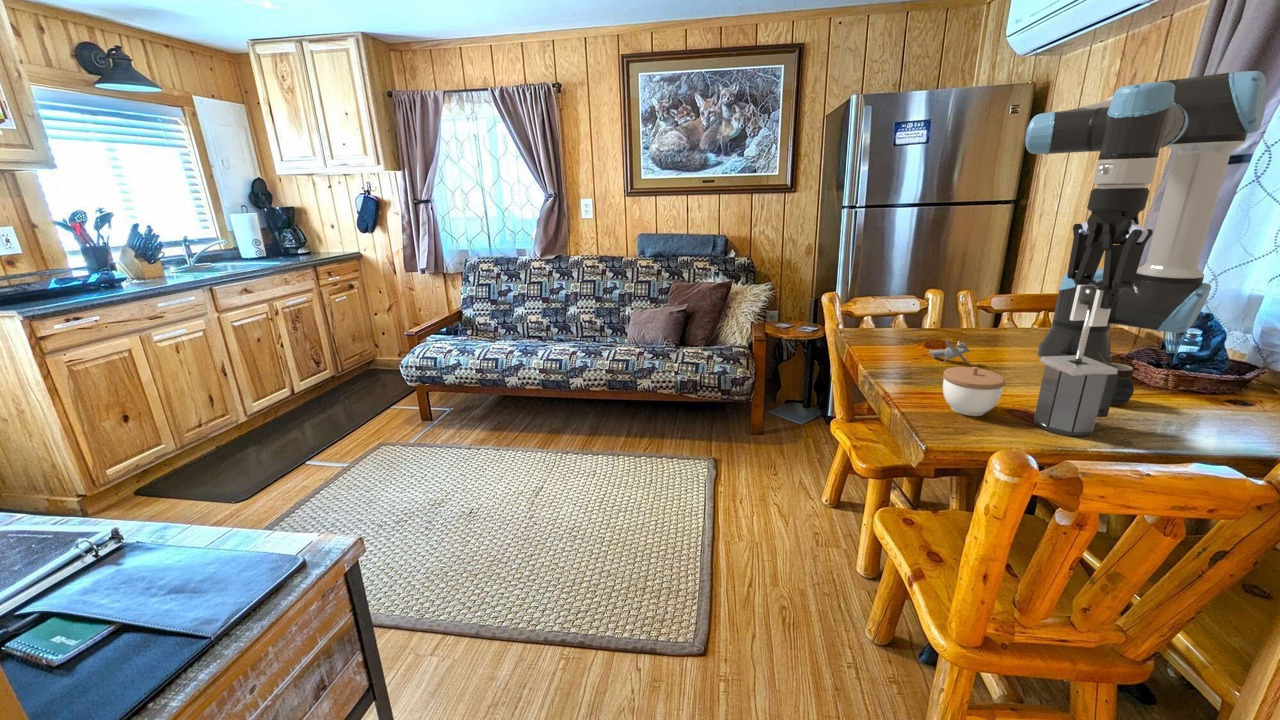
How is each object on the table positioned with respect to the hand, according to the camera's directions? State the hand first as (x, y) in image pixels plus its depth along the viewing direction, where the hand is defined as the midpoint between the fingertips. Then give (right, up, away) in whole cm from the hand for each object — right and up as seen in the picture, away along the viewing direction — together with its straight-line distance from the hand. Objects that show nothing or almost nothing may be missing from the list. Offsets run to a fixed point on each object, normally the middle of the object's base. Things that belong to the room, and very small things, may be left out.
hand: (1087, 322), depth 98 cm
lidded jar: (-13, -17, +15) cm, 26 cm away
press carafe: (+2, -20, +7) cm, 21 cm away
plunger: (0, -11, +4) cm, 12 cm away
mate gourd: (+18, -16, +17) cm, 30 cm away
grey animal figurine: (-1, -8, +44) cm, 44 cm away
